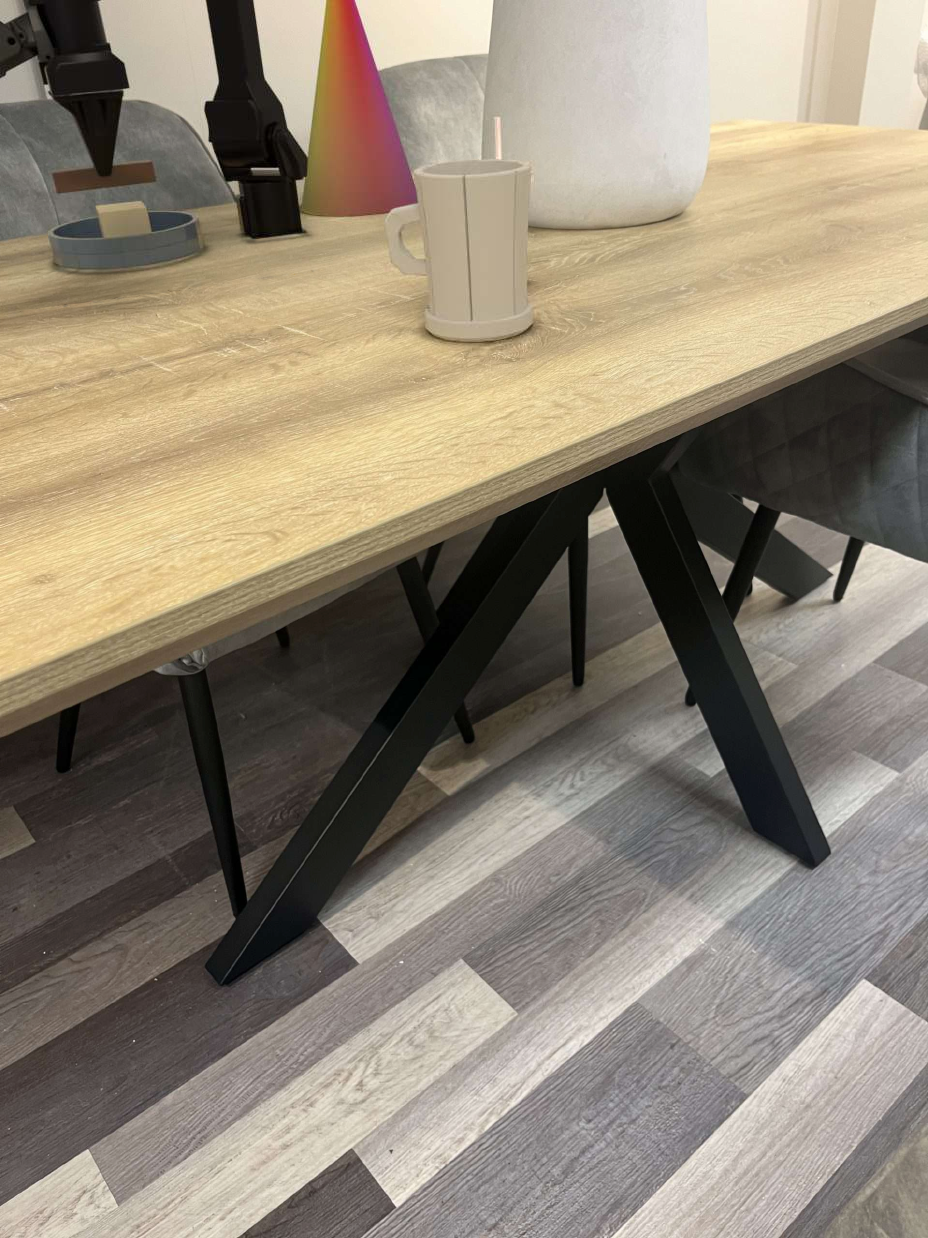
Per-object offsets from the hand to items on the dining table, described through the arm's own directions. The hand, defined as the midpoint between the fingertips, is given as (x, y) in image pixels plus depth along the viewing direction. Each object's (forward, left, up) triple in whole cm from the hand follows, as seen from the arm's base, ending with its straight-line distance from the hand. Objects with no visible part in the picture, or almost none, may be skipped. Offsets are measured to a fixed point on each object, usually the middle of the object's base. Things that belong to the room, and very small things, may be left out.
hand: (104, 174), depth 92 cm
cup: (-24, +31, -11) cm, 40 cm away
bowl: (-2, -17, -11) cm, 20 cm away
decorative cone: (-34, -33, -11) cm, 49 cm away
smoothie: (-32, +19, -11) cm, 38 cm away
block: (-2, -16, -10) cm, 19 cm away
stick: (0, 0, -1) cm, 1 cm away
